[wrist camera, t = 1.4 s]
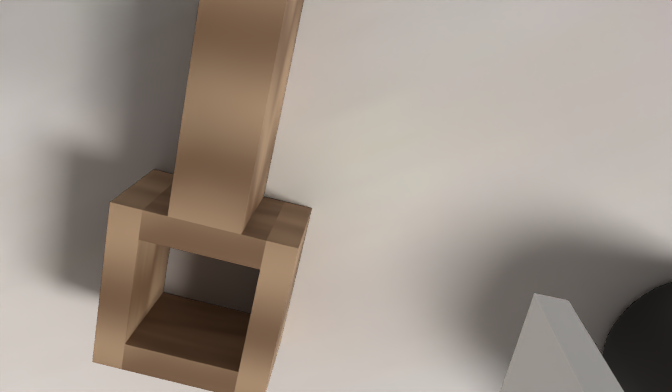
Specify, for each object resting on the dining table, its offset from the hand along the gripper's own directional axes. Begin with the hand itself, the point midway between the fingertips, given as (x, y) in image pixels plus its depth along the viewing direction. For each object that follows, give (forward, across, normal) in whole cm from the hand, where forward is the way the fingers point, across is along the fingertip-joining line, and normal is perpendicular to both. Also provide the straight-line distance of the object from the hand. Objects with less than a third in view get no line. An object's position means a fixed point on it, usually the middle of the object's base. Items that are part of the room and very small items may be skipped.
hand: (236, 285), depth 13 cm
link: (+16, -3, +1) cm, 16 cm away
